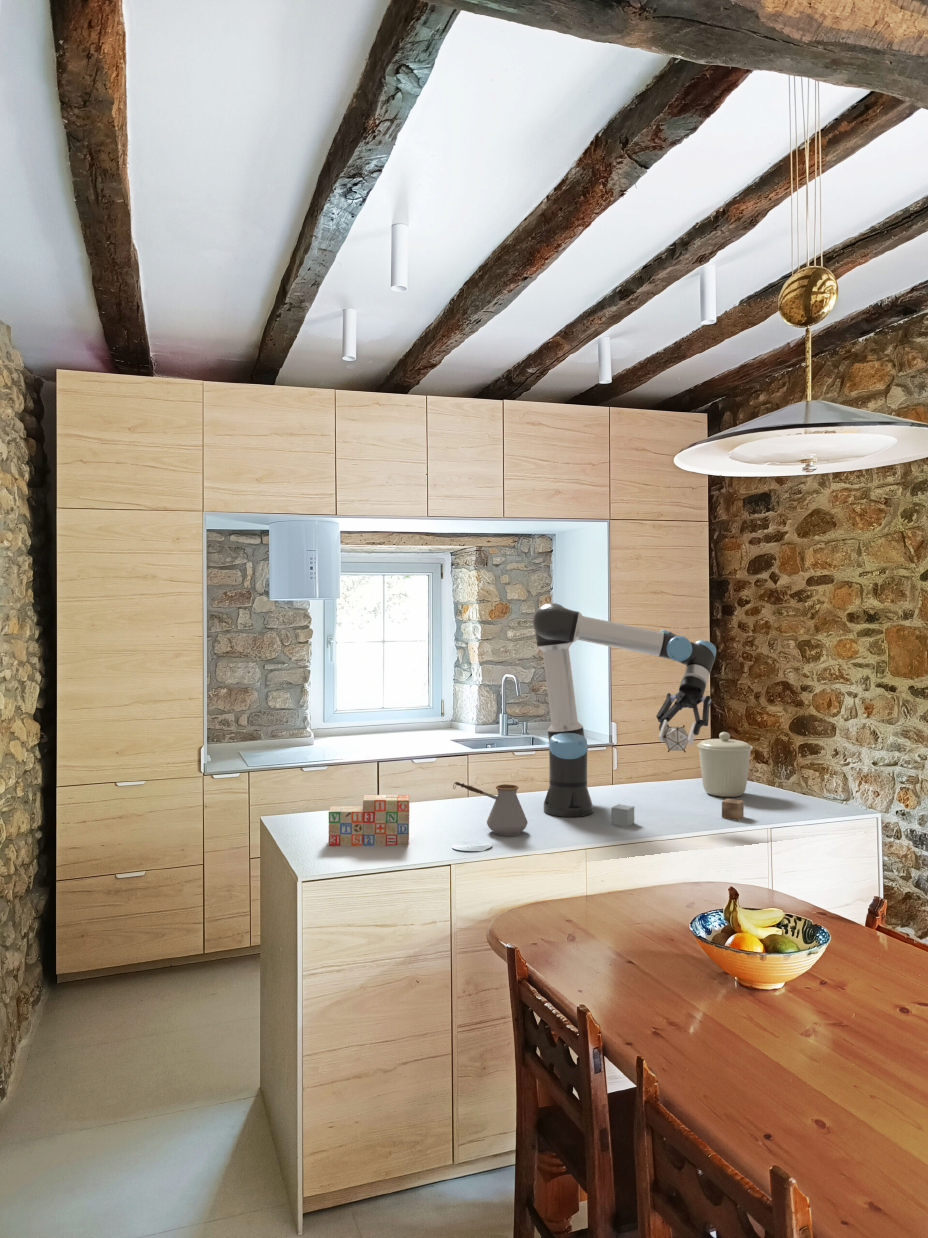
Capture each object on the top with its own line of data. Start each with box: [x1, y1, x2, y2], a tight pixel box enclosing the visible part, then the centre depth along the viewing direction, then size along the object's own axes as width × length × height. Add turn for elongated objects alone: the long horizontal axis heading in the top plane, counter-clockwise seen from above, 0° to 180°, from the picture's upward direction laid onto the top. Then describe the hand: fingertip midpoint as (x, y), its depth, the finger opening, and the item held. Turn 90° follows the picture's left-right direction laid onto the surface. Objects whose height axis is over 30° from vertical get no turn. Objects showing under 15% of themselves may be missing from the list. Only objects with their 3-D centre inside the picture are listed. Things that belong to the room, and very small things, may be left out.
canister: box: [696, 731, 754, 798], centre depth 285 cm, size 18×18×21 cm
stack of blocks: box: [328, 794, 410, 847], centre depth 226 cm, size 21×6×12 cm, turn 92°
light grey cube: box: [610, 803, 635, 828], centre depth 246 cm, size 5×5×5 cm
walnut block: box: [721, 798, 745, 821], centre depth 253 cm, size 5×5×5 cm
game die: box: [663, 724, 689, 753], centre depth 253 cm, size 9×8×10 cm
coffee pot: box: [452, 781, 529, 837], centre depth 235 cm, size 21×12×15 cm, turn 104°
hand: (675, 740), depth 250 cm, fingers closed on game die, 8 cm apart
